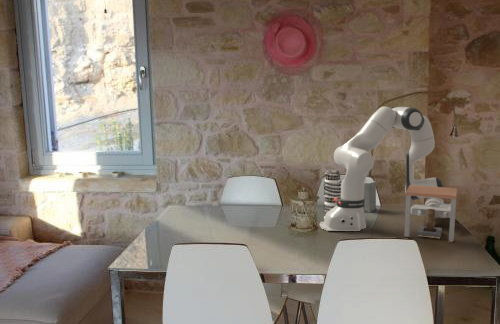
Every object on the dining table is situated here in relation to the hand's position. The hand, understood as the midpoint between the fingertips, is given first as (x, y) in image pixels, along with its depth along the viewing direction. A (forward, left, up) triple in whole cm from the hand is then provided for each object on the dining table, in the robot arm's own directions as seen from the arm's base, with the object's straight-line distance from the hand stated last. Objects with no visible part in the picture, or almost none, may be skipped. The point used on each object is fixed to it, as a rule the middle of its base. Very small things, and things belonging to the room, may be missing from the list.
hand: (431, 215), depth 251 cm
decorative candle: (-39, +30, -8) cm, 50 cm away
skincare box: (-16, +41, -8) cm, 45 cm away
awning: (-3, -5, -8) cm, 10 cm away
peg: (-3, -5, -8) cm, 10 cm away
